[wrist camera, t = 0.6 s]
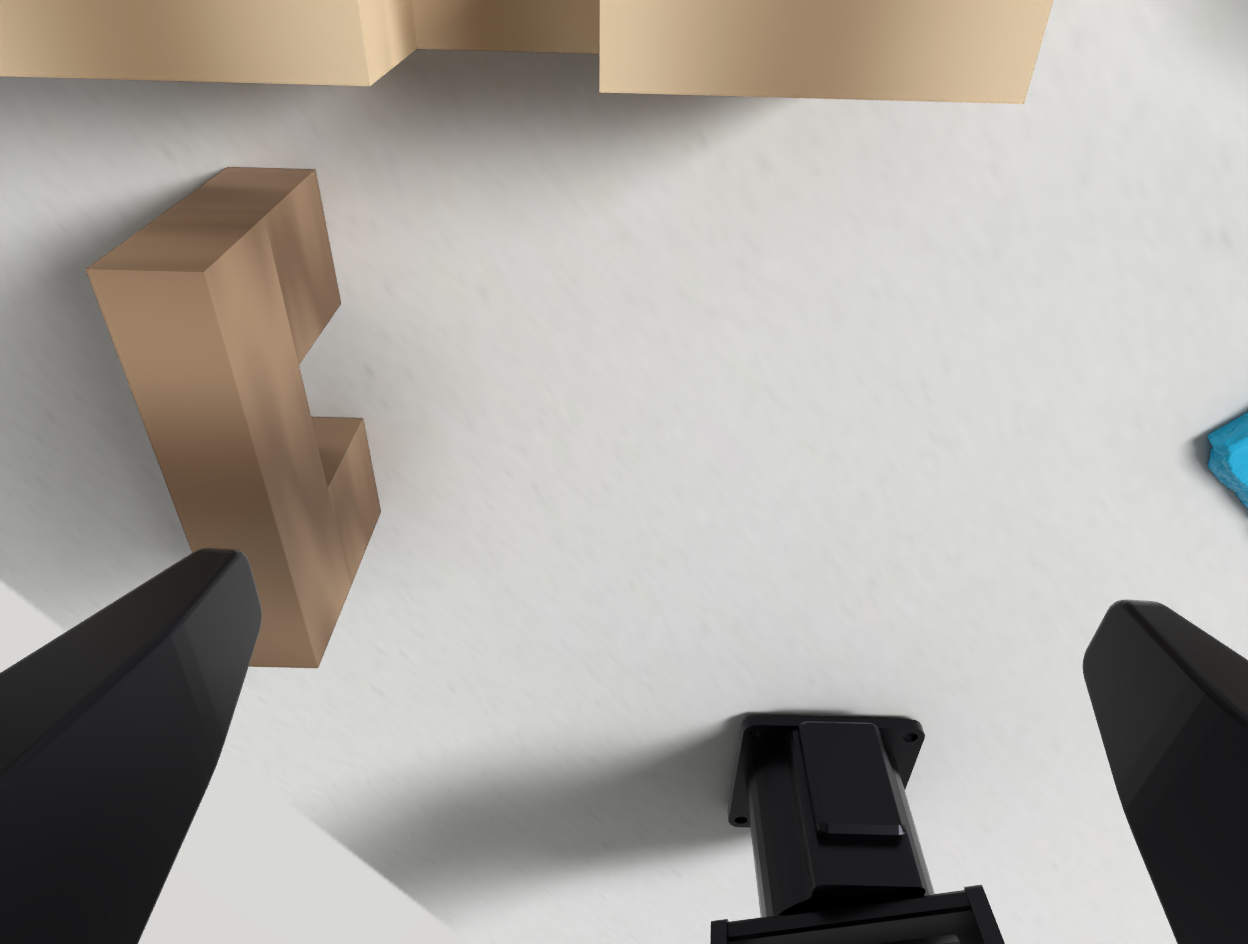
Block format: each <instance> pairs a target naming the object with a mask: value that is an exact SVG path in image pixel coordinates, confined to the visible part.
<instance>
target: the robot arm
mask: <svg viewBox="0 0 1248 944" xmlns="http://www.w3.org/2000/svg"><path fill="white" fill-rule="evenodd" d="M261 622H262V609H261V603H260V600H259V596H258V592H257V588H256V585H255V581H254V577H253V573H252V570H251V566H250V562H249V560H248V557H247V556H246V554H245V553H244V552H243V551H241V550H238V549H227V548H209V547H208V548H201V549H199V550H197V551H195V552H193V553H191V554H190V555H188V556H187V557H185V558H183V559H182V560H180V561H179V562H177V563H175V564H174V565H172V566H171V567H169V568H167V569H166V570H164V571H163V572H161V573H159V574H158V575H156V576H155V577H153V578H151V579H150V580H148V581H147V582H145V583H143V584H142V585H140V586H139V587H137V588H135V589H134V590H132V591H131V592H129V593H127V594H126V595H124V596H123V597H121V598H119V599H118V600H116V601H115V602H113V603H112V604H110V605H108V606H107V607H105V608H104V609H102V610H100V611H99V612H97V613H96V614H94V615H92V616H91V617H89V618H88V619H86V620H84V621H83V622H81V623H80V624H78V625H76V626H75V627H73V628H72V629H70V630H68V631H67V632H65V633H64V634H62V635H60V636H59V637H57V638H56V639H54V640H52V641H51V642H49V643H48V644H46V645H44V646H43V647H41V648H40V649H38V650H36V651H35V652H33V653H32V654H30V655H28V656H27V657H25V658H24V659H22V660H20V661H19V662H17V663H16V664H14V665H12V666H11V667H9V668H8V669H6V670H5V671H3V672H1V673H0V944H138V942H139V940H140V938H141V935H142V933H143V931H144V929H145V926H146V924H147V922H148V920H149V917H150V915H151V913H152V911H153V908H154V906H155V904H156V902H157V899H158V897H159V895H160V893H161V890H162V888H163V886H164V884H165V881H166V879H167V877H168V874H169V872H170V870H171V868H172V865H173V863H174V861H175V859H176V857H177V854H178V852H179V850H180V848H181V845H182V843H183V841H184V839H185V836H186V834H187V832H188V830H189V827H190V825H191V823H192V821H193V818H194V816H195V814H196V812H197V809H198V807H199V805H200V803H201V800H202V798H203V796H204V794H205V791H206V789H207V787H208V785H209V782H210V780H211V777H212V775H213V773H214V770H215V768H216V765H217V762H218V760H219V757H220V754H221V751H222V748H223V745H224V743H225V740H226V736H227V733H228V730H229V727H230V724H231V720H232V717H233V714H234V711H235V708H236V705H237V701H238V698H239V695H240V692H241V689H242V686H243V682H244V679H245V676H246V673H247V670H248V666H249V663H250V660H251V657H252V654H253V651H254V647H255V644H256V641H257V638H258V635H259V631H260V628H261ZM1083 674H1084V679H1085V682H1086V686H1087V689H1088V693H1089V696H1090V699H1091V703H1092V706H1093V710H1094V713H1095V717H1096V720H1097V723H1098V727H1099V730H1100V734H1101V737H1102V741H1103V744H1104V747H1105V751H1106V754H1107V758H1108V761H1109V764H1110V768H1111V771H1112V775H1113V778H1114V782H1115V785H1116V788H1117V791H1118V795H1119V798H1120V801H1121V804H1122V807H1123V810H1124V813H1125V815H1126V818H1127V820H1128V823H1129V826H1130V828H1131V831H1132V834H1133V836H1134V839H1135V841H1136V843H1137V846H1138V848H1139V851H1140V853H1141V856H1142V858H1143V861H1144V863H1145V865H1146V868H1147V870H1148V873H1149V875H1150V878H1151V880H1152V882H1153V885H1154V887H1155V890H1156V892H1157V895H1158V897H1159V900H1160V902H1161V904H1162V907H1163V909H1164V912H1165V914H1166V917H1167V919H1168V921H1169V924H1170V926H1171V929H1172V931H1173V934H1174V936H1175V939H1176V941H1177V943H1178V944H1248V660H1247V659H1245V658H1244V657H1242V656H1241V655H1239V654H1238V653H1236V652H1235V651H1233V650H1232V649H1230V648H1229V647H1227V646H1226V645H1224V644H1223V643H1221V642H1220V641H1218V640H1217V639H1215V638H1214V637H1212V636H1211V635H1209V634H1208V633H1206V632H1205V631H1203V630H1201V629H1200V628H1198V627H1197V626H1195V625H1194V624H1192V623H1191V622H1189V621H1188V620H1186V619H1185V618H1183V617H1182V616H1180V615H1179V614H1177V613H1176V612H1174V611H1173V610H1171V609H1170V608H1168V607H1167V606H1165V605H1163V604H1161V603H1158V602H1154V601H1139V600H1120V601H1117V602H1115V603H1114V604H1113V605H1111V606H1110V608H1109V609H1108V611H1107V613H1106V614H1105V616H1104V618H1103V620H1102V622H1101V624H1100V625H1099V627H1098V629H1097V631H1096V633H1095V635H1094V637H1093V638H1092V640H1091V642H1090V644H1089V646H1088V648H1087V650H1086V652H1085V655H1084V659H1083ZM924 738H925V734H924V731H923V728H922V725H921V724H920V722H918V721H916V720H910V719H872V718H834V717H796V716H758V715H757V716H751V717H748V718H746V719H745V720H744V721H743V723H742V728H741V733H740V739H739V745H738V751H737V757H736V763H735V769H734V775H733V781H732V787H731V793H730V799H729V805H728V820H729V823H730V824H731V825H733V826H735V827H751V836H752V844H753V853H754V862H755V870H756V879H757V887H758V896H759V904H760V913H761V918H754V919H747V920H739V921H732V922H729V921H728V920H727V919H724V920H716V921H711V944H1005V943H1004V940H1003V938H1002V935H1001V933H1000V930H999V928H998V925H997V922H996V920H995V917H994V915H993V912H992V910H991V907H990V905H989V902H988V899H987V897H986V894H985V892H984V889H983V887H982V885H976V886H968V887H964V890H963V891H955V892H948V893H940V894H934V891H933V887H932V884H931V880H930V877H929V873H928V870H927V866H926V863H925V859H924V856H923V852H922V849H921V846H920V842H919V839H918V835H917V832H916V828H915V825H914V821H913V818H912V814H911V811H910V807H909V804H908V801H907V797H906V794H905V788H906V786H907V783H908V781H909V778H910V775H911V773H912V770H913V767H914V765H915V762H916V759H917V757H918V754H919V751H920V749H921V746H922V743H923V741H924Z"/></svg>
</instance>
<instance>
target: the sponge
mask: <svg viewBox="0 0 1248 944" xmlns="http://www.w3.org/2000/svg"><path fill="white" fill-rule="evenodd" d="M1208 439H1209V441H1210V443H1211V445H1212V449H1211V450H1210V459H1209V462H1208V467H1209V469H1210V470H1211V471H1212V472H1213V474H1214V475H1215V476H1216V477H1217V479H1218V480H1219V481H1220V482H1221V483H1222V484H1224V485H1225V486H1226V487H1227V488H1228V489H1232V490H1233V491H1234V492H1235V493H1236V495H1237V496H1238V498H1239V499H1240V502H1242V503H1243V504H1244V505H1245V506H1246V507H1247V509H1248V412H1247V413H1245V414H1243V415H1242V416H1240V417H1239V418H1236V419H1234V420H1233V421H1231V422H1229V423H1228V424H1226V425H1224V426H1223V427H1221V428H1219V429H1217V430H1215V431H1214V432H1212V433H1210V434H1209V435H1208Z"/></svg>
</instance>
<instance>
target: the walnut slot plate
mask: <svg viewBox="0 0 1248 944" xmlns="http://www.w3.org/2000/svg"><path fill="white" fill-rule="evenodd" d="M86 272H87V274H88V277H89V280H90V282H91V285H92V287H93V290H94V293H95V295H96V298H97V301H98V303H99V306H100V309H101V311H102V314H103V317H104V319H105V322H106V325H107V327H108V330H109V333H110V335H111V338H112V341H113V343H114V346H115V349H116V351H117V354H118V357H119V359H120V362H121V365H122V367H123V370H124V373H125V375H126V378H127V381H128V383H129V386H130V389H131V391H132V394H133V397H134V399H135V402H136V405H137V407H138V410H139V413H140V415H141V418H142V421H143V423H144V426H145V429H146V431H147V434H148V436H149V439H150V442H151V444H152V447H153V450H154V452H155V455H156V458H157V460H158V463H159V466H160V468H161V471H162V474H163V476H164V479H165V482H166V484H167V487H168V490H169V492H170V495H171V498H172V500H173V503H174V506H175V508H176V511H177V514H178V516H179V519H180V522H181V524H182V527H183V530H184V532H185V535H186V538H187V540H188V543H189V546H190V548H191V551H192V553H193V552H195V551H197V550H199V549H201V548H208V547H209V548H227V549H238V550H241V551H243V552H244V553H245V554H246V556H247V557H248V560H249V562H250V566H251V570H252V573H253V577H254V581H255V585H256V588H257V592H258V596H259V600H260V603H261V609H262V622H261V628H260V631H259V635H258V638H257V641H256V644H255V647H254V651H253V654H252V657H251V660H250V663H249V666H252V667H290V668H318V667H319V665H320V662H321V660H322V657H323V655H324V652H325V650H326V647H327V645H328V642H329V640H330V637H331V635H332V632H333V630H334V627H335V625H336V622H337V620H338V617H339V615H340V613H341V610H342V608H343V605H344V603H345V600H346V598H347V595H348V593H349V590H350V588H351V585H352V583H353V580H354V578H355V575H356V573H357V570H358V568H359V565H360V563H361V560H362V558H363V555H364V553H365V550H366V548H367V545H368V543H369V540H370V538H371V535H372V533H373V530H374V528H375V525H376V523H377V520H378V518H379V516H380V513H381V510H380V505H379V499H378V494H377V489H376V484H375V478H374V473H373V468H372V463H371V458H370V452H369V447H368V442H367V437H366V431H365V426H364V421H363V418H330V417H311V415H310V411H309V406H308V402H307V398H306V393H305V389H304V385H303V381H302V376H301V372H300V368H299V364H300V363H301V361H302V360H303V358H304V357H305V355H306V354H307V352H308V351H309V350H310V348H311V347H312V345H313V344H314V342H315V341H316V339H317V338H318V337H319V335H320V334H321V332H322V331H323V329H324V328H325V326H326V325H327V323H328V322H329V321H330V319H331V318H332V316H333V315H334V313H335V312H336V310H337V309H338V307H339V306H340V305H341V301H340V296H339V290H338V285H337V280H336V275H335V270H334V264H333V259H332V254H331V249H330V243H329V238H328V233H327V228H326V222H325V217H324V212H323V207H322V202H321V196H320V191H319V186H318V181H317V175H316V170H315V169H283V168H246V167H227V168H226V169H224V170H223V171H221V172H220V173H219V174H217V175H216V176H214V177H213V178H212V179H210V180H209V181H207V182H206V183H205V184H203V185H202V186H201V187H199V188H198V189H196V190H195V191H194V192H192V193H191V194H189V195H188V196H187V197H185V198H184V199H182V200H181V201H180V202H178V203H177V204H175V205H174V206H173V207H171V208H170V209H169V210H167V211H166V212H164V213H163V214H162V215H160V216H159V217H157V218H156V219H155V220H153V221H152V222H150V223H149V224H148V225H146V226H145V227H144V228H142V229H141V230H139V231H138V232H137V233H135V234H134V235H132V236H131V237H130V238H128V239H127V240H125V241H124V242H123V243H121V244H120V245H119V246H117V247H116V248H114V249H113V250H112V251H110V252H109V253H107V254H106V255H105V256H103V257H102V258H100V259H99V260H98V261H96V262H95V263H94V264H92V265H91V266H89V267H88V268H87V269H86Z"/></svg>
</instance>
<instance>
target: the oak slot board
mask: <svg viewBox="0 0 1248 944" xmlns="http://www.w3.org/2000/svg"><path fill="white" fill-rule="evenodd" d="M1052 4H1053V0H0V76H11V77H48V78H85V79H122V80H159V81H196V82H233V83H270V84H307V85H344V86H371V85H372V84H374V83H375V82H376V81H377V80H379V79H380V78H381V77H382V76H384V75H385V74H386V73H387V72H389V71H390V70H391V69H392V68H394V67H395V66H396V65H397V64H399V63H400V62H401V61H402V60H404V59H405V58H406V57H407V56H409V55H410V54H411V53H412V52H414V51H415V50H416V49H442V50H479V51H516V52H553V53H589V54H600V77H599V92H602V93H639V94H676V95H713V96H750V97H787V98H823V99H860V100H897V101H934V102H971V103H1008V104H1024V102H1025V99H1026V95H1027V92H1028V88H1029V85H1030V81H1031V78H1032V74H1033V71H1034V67H1035V64H1036V60H1037V57H1038V53H1039V50H1040V46H1041V42H1042V39H1043V35H1044V32H1045V28H1046V25H1047V21H1048V18H1049V14H1050V11H1051V7H1052Z"/></svg>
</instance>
